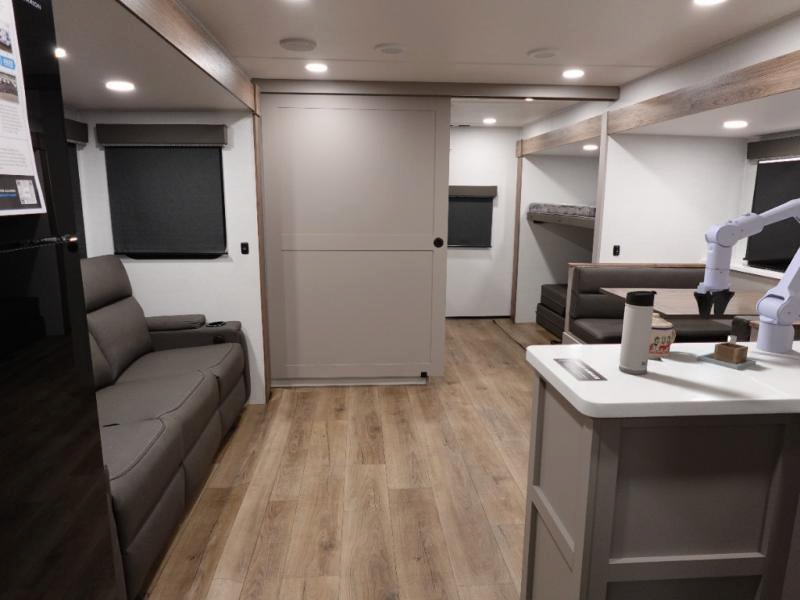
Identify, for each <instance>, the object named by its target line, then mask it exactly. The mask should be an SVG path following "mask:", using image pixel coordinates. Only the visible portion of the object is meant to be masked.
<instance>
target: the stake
mask: <svg viewBox="0 0 800 600" xmlns="http://www.w3.org/2000/svg"><path fill="white" fill-rule="evenodd" d="M726 342H728V343H733V344H737V335H732V334H731V335H727V341H726Z"/></svg>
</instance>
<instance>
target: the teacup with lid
mask: <svg viewBox="0 0 800 600" xmlns="http://www.w3.org/2000/svg"><path fill="white" fill-rule="evenodd" d="M673 325H674V324H673V323H671V322H669V321H667V320H666V319H664V318H663V317H660V313H657V312H653V318H652V328H651V337H650V346H649V355H648V360H657V361H658V360H659V361H660V360H662V358H661V357H667V356H669V355H670V349H671V345H672V344H673V343H674V342H675V339H676V336H677V335H676V331H675V329H674V326H673Z"/></svg>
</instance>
